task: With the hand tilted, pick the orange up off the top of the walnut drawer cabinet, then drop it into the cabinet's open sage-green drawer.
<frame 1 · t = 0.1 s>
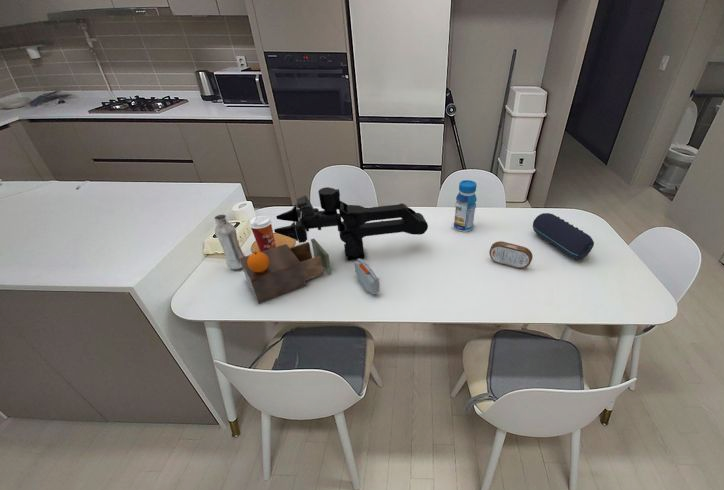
hand: (275, 223, 117), 17 cm above the table, tool horizontal, fingers open, 9 cm apart
beverage bottle: (463, 227, 149), on the table
tin: (508, 264, 128), on the table
paper cup: (269, 252, 133), on the table
portable speaker: (558, 246, 138), on the table
orange: (261, 270, 108), point 10 cm above the table, touching cabinet
drawer: (304, 261, 120), point 5 cm above the table, slide at 8.5 cm
plastic bottle: (238, 266, 126), on the table
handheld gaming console: (367, 286, 118), on the table
cabinet: (276, 283, 118), on the table
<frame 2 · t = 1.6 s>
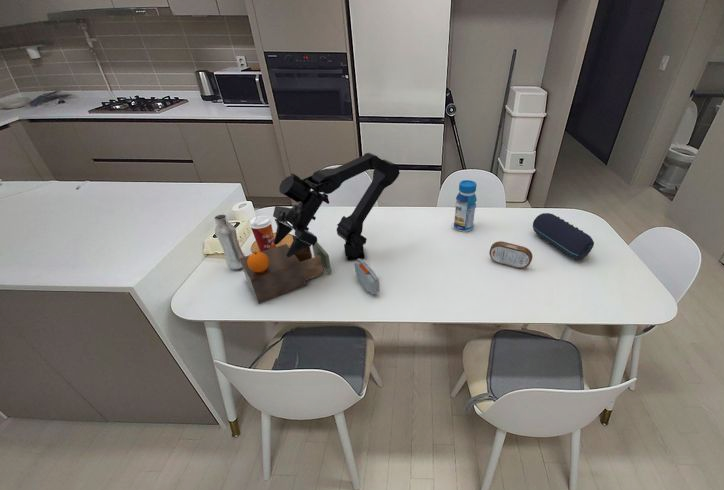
hand: (281, 250, 110), 14 cm above the table, tool tilted 45°, fingers open, 9 cm apart
nothing on the table moved.
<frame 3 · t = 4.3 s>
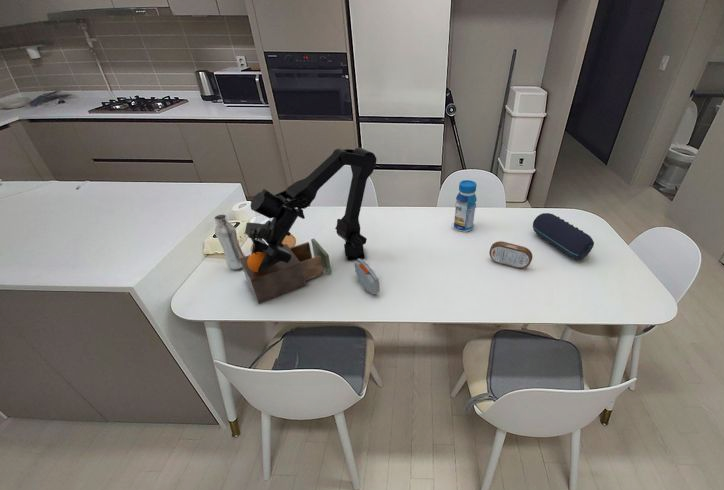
hand: (255, 267, 107), 11 cm above the table, tool tilted 45°, fingers closed on orange, 6 cm apart
orange: (261, 270, 108), point 10 cm above the table, touching cabinet, gripper
everything else where it was.
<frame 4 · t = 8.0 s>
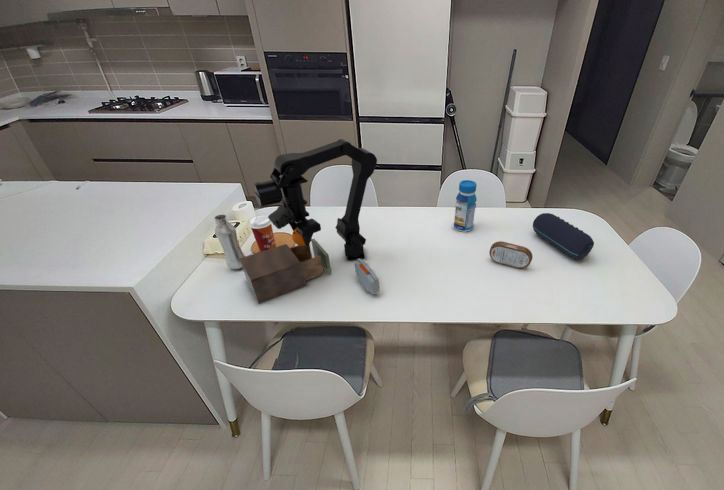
hand: (302, 241, 116), 13 cm above the table, tool pointing down, fingers closed on orange, 6 cm apart
orange: (309, 239, 117), point 12 cm above the table, tilted 45°, touching gripper
everything else where it was.
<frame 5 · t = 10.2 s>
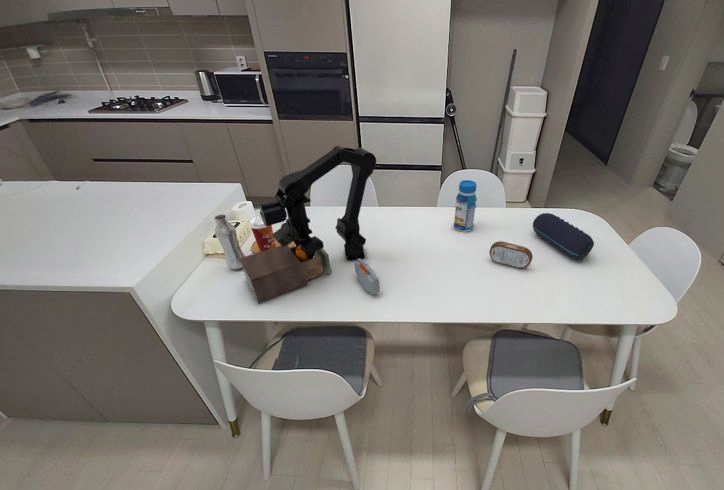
hand: (306, 257, 120), 6 cm above the table, tool pointing down, fingers closed on orange, 6 cm apart
orange: (312, 255, 121), point 6 cm above the table, tilted 45°, touching gripper
everything else where it was.
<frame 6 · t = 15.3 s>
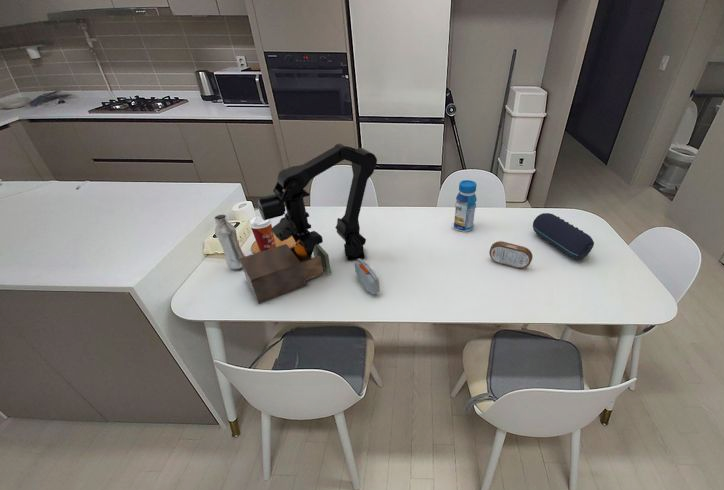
hand: (305, 252, 119), 8 cm above the table, tool pointing down, fingers closed on orange, 6 cm apart
orange: (311, 250, 120), point 8 cm above the table, tilted 45°, touching gripper
everything else where it was.
when the fingers open (9 cm above the table, at t = 26.3 s): orange drops 6 cm, resting on drawer.
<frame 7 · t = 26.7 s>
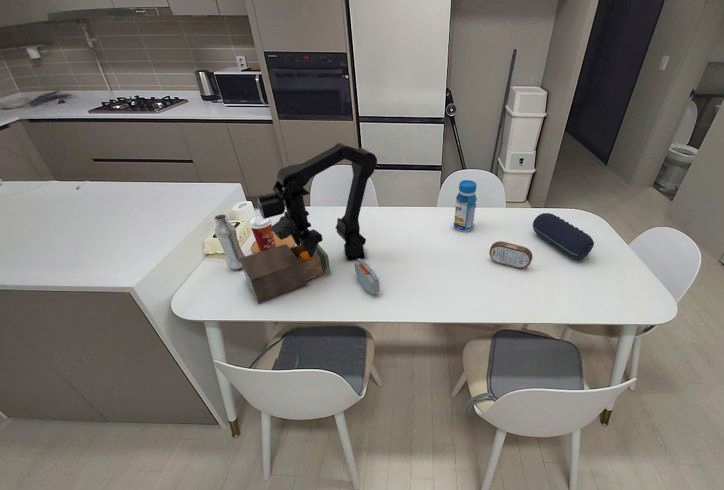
hand: (304, 250, 118), 9 cm above the table, tool pointing down, fingers open, 9 cm apart
orange: (313, 262, 123), point 3 cm above the table, tilted 43°, touching drawer
drawer: (304, 261, 120), point 5 cm above the table, slide at 8.3 cm, touching orange
everything else where it was.
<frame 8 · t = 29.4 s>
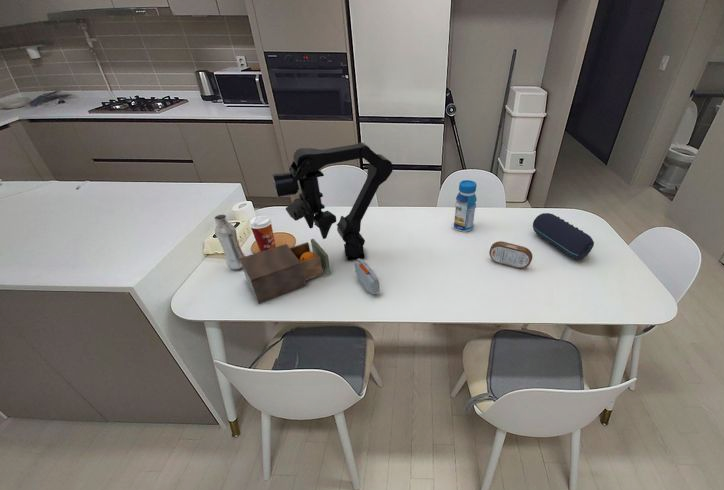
hand: (317, 233, 120), 13 cm above the table, tool pointing down, fingers open, 9 cm apart
at the end: orange inside the target area in the cabinet (9.5 cm from its centre), point 2.8 cm above the cabinet's base; orange touching drawer; the gripper is holding nothing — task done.
